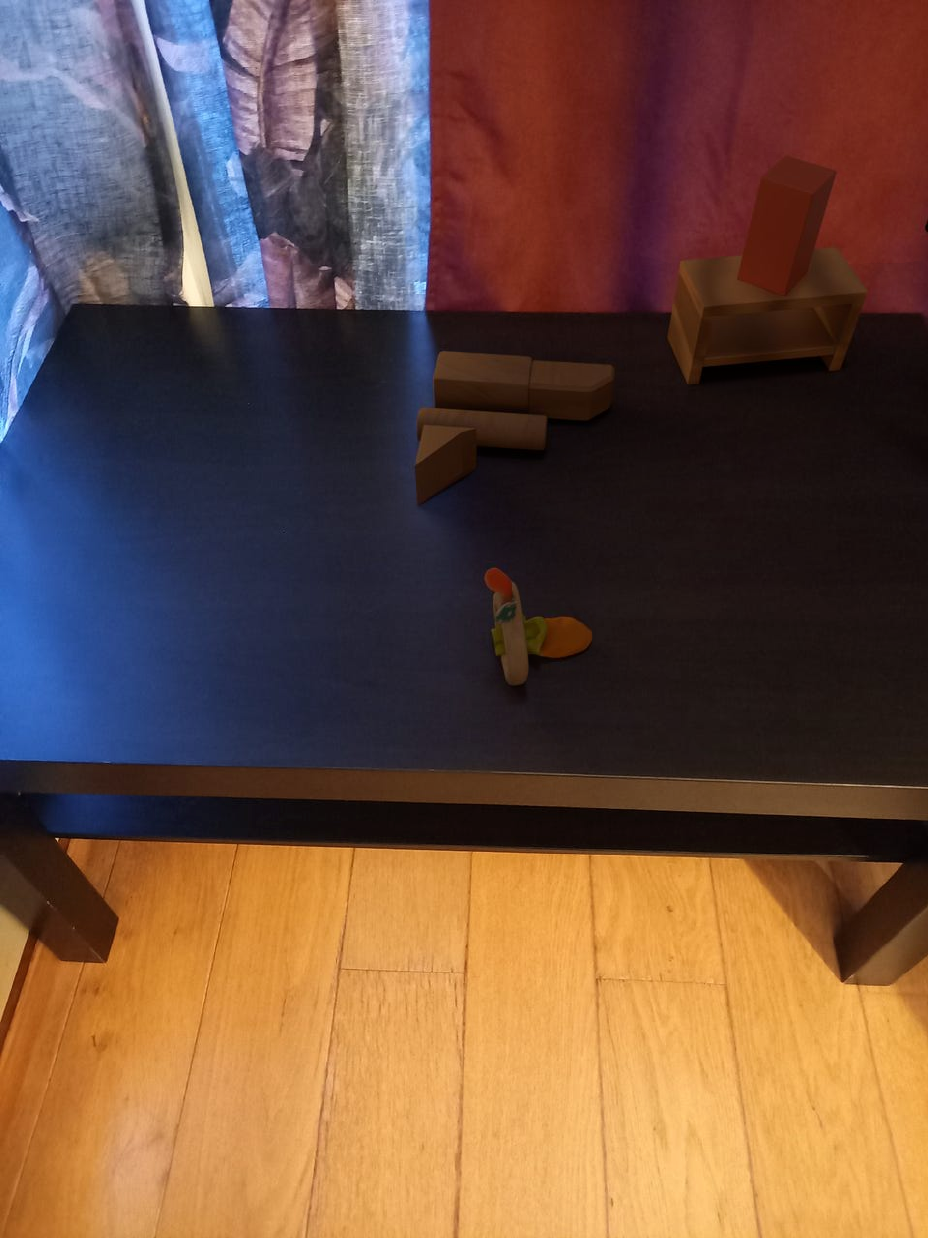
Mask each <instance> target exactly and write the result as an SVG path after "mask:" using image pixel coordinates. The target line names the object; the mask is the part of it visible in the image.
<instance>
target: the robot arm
mask: <svg viewBox="0 0 928 1238" xmlns="http://www.w3.org/2000/svg"><path fill="white" fill-rule="evenodd" d="M924 230H925V232H926V233H927V234H928V219H927V220H926V222H925V225H924Z"/></svg>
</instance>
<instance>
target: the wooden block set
mask: <svg viewBox="0 0 928 1238" xmlns="http://www.w3.org/2000/svg"><path fill="white" fill-rule="evenodd" d="M614 380H615V367H614V366H613V365H612V364H603V363H602V364H601V363H586V362H571V361H570V362H568V361H555V360H553V361H552V360H538V359H537V360H535V359H532V357H531V356H529V355H528V356H527V355H513V354H495V353H478V352H465V351H464V352H463V351H462V352H461V351H445V350H442V351H440V352H439V354H438V355H437V359H436V364H435V368H434V373H433V377H432V388H433V389H432V391H433V407H425V406H422V407H420V408H419V410H418V412H417V417H416V438H417V441H418V442H419V443H418V449H417V453H416V457H415V461H414V462H415V463H414V474H415V475H414V477H415V478H414V479H415V490H416V491H415V492H416V503H417V505H416V506H419V505H420V504H422V503H424V502H426V501H427V500H428V499H430V498H432V497H433V496H435V495H437V494H438V493H440V492H442V491H443V490H445V489H446V488H447V487H449V486H451V485H452V484H454V483H456V482H457V481H459V480H460V479H463V478H464V477H465V476H467V475H469V474H470V473H472V472H473V471H474V470H476V469H477V462H478V461H477V459H478V458H477V447H485V448H486V447H487V448H501V449H513V450H514V449H515V450H530V451H544V450H545V449H546V445H547V433H548V423H549V421H548V419H552V420H566V421H581V422H587V421H589V420H591V419H593V418H595V417H596V416H599V415H600V414H602V413H603V412H605V411H608V410H609V409H610V407H611V405H612V404H611V403H612V396H613V388H614Z"/></svg>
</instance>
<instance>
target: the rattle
mask: <svg viewBox="0 0 928 1238" xmlns="http://www.w3.org/2000/svg"><path fill="white" fill-rule="evenodd" d="M484 582H485V585H486V586H487V588H488V589H489V590H490V591H492V592H494V593H493V596H492V607H493V609H492V611H493V618H494V619H493V620H494V628H492V629H491V634H492V639H493V647H494V653H495V656H496V657H497V658H500V661H501V665H502V669H503V674H504V679H505V681H506V683H507V684H508V685H510V686H519V685H522V684H524V683H525V681H526V680H527V678H528V675H529V655H536V656H539V657H547V658H551V659H557V658H565V657H570V656H573V655H576V654H579V653H581V652H583V651H585V650H586V649H587V648H588V647H589V646H590V644H591V642H592V640H593V631H592V630H591V629H589V628H588V627H587V625H585V624H584V623H583V622H581V621H578V620H577V619H576V618H574V617H571V616H557V617H546V618H544V617H543V616H535V617H532V618H529V619H528V620H527V618H526V616H525V615H524V614H523V610H522V603H521V597H520V592H519V588H518V587H517V584H516V583H515V582H514V581H512V580H511V578H510V577H509V576H508V575H507V574H506V573H504V572H503V571H502V570H500V569H499V568H498V567H491V568H489V569H488V570H486V573H485V574H484Z"/></svg>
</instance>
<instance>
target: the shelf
mask: <svg viewBox="0 0 928 1238" xmlns="http://www.w3.org/2000/svg"><path fill="white" fill-rule="evenodd" d="M742 255H743V254H740V255H730V256H717V257H716V256H715V257H706V258H695V259H694V258H693V259H684V260H680V263H679V270H678V275H677V281H676V287H675V291H674V297H673V298H674V299H673V304H672V308H671V309H672V310H671V315H670V319H669V326H668V331H667V338H666V339H667V341H668V343H669V345H670V348H671V349H672V352H673V354H674V358H675V359H676V361H677V363H678V366H679V368H680V370H681V373H682V375H683V378H684V380H685V382H686V384H687V385H689V386H690V385H698V384H700V380H701V376H702V371H703V368H706V367H707V368H708V367H718V366H728V365H737V364H738V365H739V364H749V363H760V362H767V361H768V362H769V361H770V362H771V361H781V360H791V359H800V358H801V359H802V358H813V357H820V358H821V360H822V362H823V363H824V365H825V367H826V368H827V370H828V371H829V372H830V371H831V372H833V371H840V370H841V368H842V365H843V363H844V360H845V357H846V354H847V353H848V352H847V351H848V349H849V346H850V344H851V340H852V338H853V335H854V332H855V329H856V327H857V323H858V321H859V318H860V315H861V313H862V309H863V308H864V304H865V302H866V299H867V296H868V294H869V291H868V289H867V288H866V287H865V285H864V284H863V282H862V281H861V279H860V277H859V276H858V274H857V273H856V272H855V271H854V270H853V268H852V266H851V265H850V263H849V262H848V260H847V259H846V257H844V255H843V253H842V252H841V251H840V249H839V248H838V246H834V247H821V248H814V251H813V254H812V257H811V261H810V264H809V268H808V271H807V273H806V274H805V275H804V276H803V277H802V278H801V279H800V280H799V281H798V282H797V283H796V285H795V286H794V287H793V288H792V289H791V290H790V291H789V292H788V293H787V294H786V295H785V296H782V295H779V294H776V293H774V292H771V291H768V290H766V289H763V288H760V287H757V286H755V285H752V284H749V283H746V282H744V281H741V280H738V279H737V276H738V272H739V267H740V263H741V259H742Z"/></svg>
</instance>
